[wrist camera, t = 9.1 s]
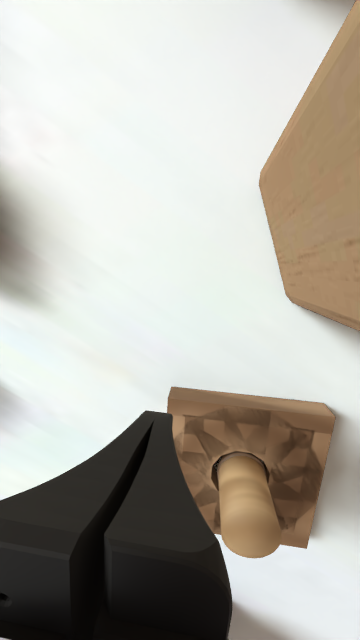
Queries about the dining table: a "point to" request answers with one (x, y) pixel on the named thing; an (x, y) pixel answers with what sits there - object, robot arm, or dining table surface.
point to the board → (254, 450)
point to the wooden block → (321, 186)
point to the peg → (246, 506)
